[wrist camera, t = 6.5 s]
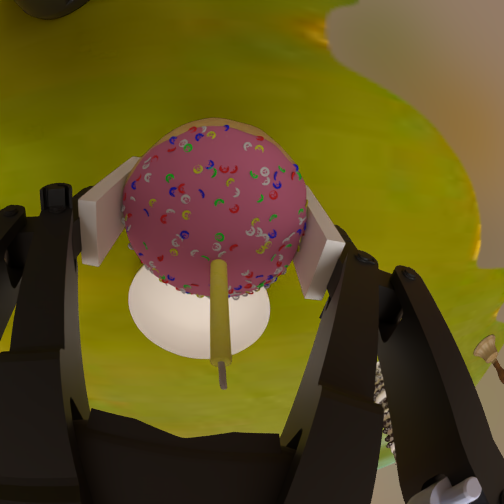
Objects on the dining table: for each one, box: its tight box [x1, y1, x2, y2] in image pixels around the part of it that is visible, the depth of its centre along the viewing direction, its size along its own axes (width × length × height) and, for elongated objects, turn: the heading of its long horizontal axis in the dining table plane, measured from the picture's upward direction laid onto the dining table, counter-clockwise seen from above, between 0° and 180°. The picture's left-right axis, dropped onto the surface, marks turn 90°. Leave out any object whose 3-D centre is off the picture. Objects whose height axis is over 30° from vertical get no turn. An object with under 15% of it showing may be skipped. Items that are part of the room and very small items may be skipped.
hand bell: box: [474, 335, 504, 384], centre depth 55 cm, size 8×8×16 cm
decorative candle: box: [374, 361, 397, 465], centre depth 49 cm, size 9×9×25 cm
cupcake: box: [121, 118, 308, 389], centre depth 12 cm, size 9×8×12 cm
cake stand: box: [128, 265, 270, 359], centre depth 40 cm, size 18×18×8 cm
